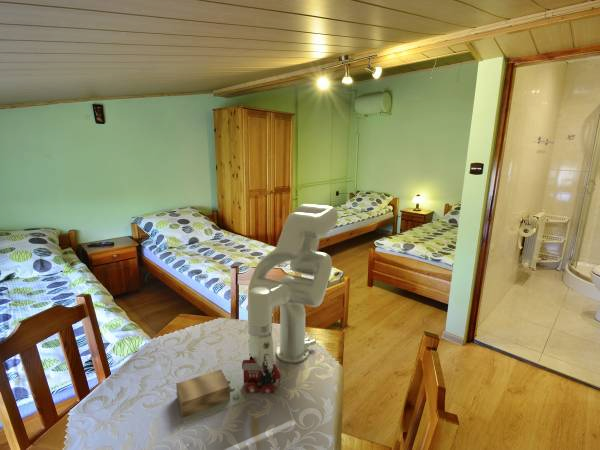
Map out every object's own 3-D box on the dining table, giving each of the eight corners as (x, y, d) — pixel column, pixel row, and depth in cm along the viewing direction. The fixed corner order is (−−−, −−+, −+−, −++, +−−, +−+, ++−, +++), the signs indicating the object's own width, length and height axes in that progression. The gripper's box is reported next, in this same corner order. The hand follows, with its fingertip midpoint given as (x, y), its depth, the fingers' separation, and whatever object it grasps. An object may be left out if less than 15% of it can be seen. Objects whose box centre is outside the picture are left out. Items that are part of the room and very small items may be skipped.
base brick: (221, 382, 107) (221, 369, 106) (230, 400, 99) (229, 386, 98) (177, 397, 100) (176, 383, 99) (182, 417, 92) (181, 402, 91)
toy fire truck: (279, 396, 102) (279, 368, 100) (240, 396, 103) (239, 367, 100) (281, 381, 109) (281, 354, 107) (244, 381, 109) (243, 353, 107)
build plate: (231, 377, 111) (231, 372, 111) (245, 404, 99) (245, 399, 99) (176, 395, 102) (175, 391, 102) (184, 427, 90) (184, 422, 90)
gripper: (283, 336, 95) (282, 388, 99) (260, 312, 110) (260, 358, 113) (259, 343, 92) (259, 396, 95) (239, 317, 106) (239, 364, 110)
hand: (260, 375), depth 104 cm, fingers open, 9 cm apart
